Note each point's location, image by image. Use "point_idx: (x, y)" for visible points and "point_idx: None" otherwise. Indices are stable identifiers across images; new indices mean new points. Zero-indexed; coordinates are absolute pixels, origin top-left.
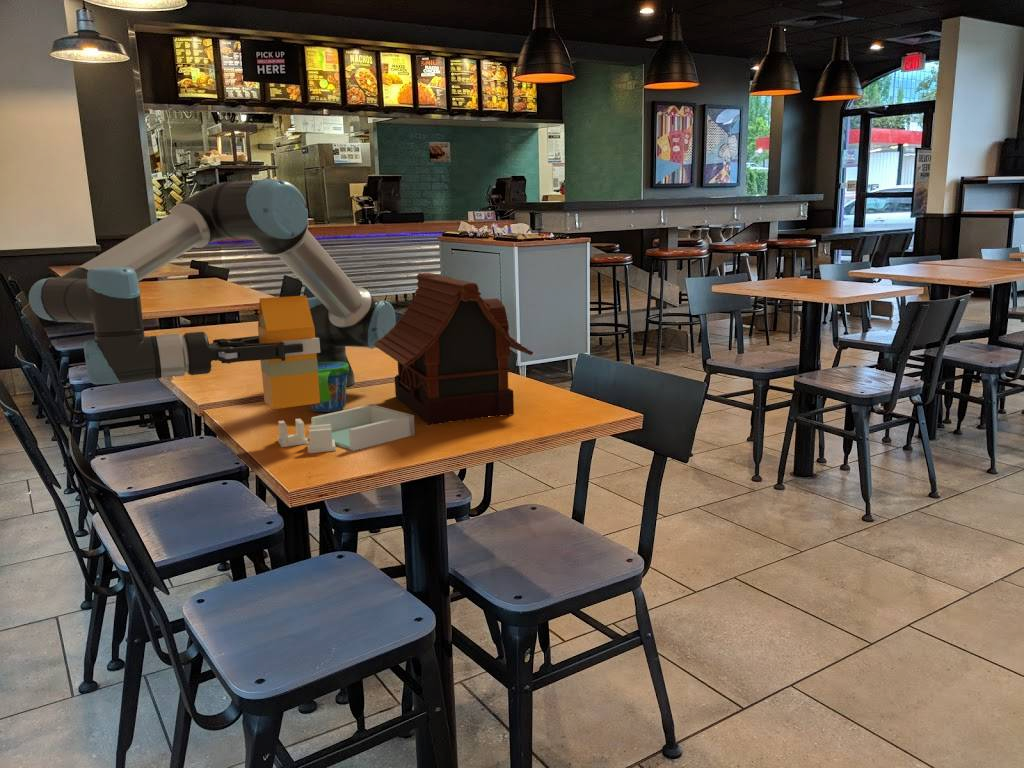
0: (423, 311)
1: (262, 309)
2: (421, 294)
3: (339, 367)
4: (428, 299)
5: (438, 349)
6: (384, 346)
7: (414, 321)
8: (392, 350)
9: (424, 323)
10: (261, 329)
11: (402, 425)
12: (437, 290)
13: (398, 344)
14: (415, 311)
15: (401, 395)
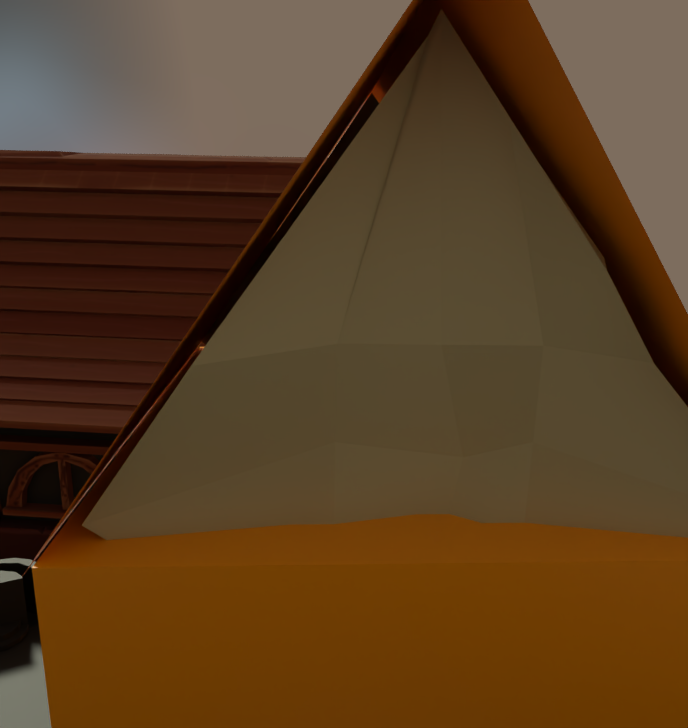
0: (141, 260)
1: (607, 167)
2: (45, 210)
3: None
4: (124, 222)
5: None
6: (5, 407)
7: (99, 298)
8: (120, 410)
9: (205, 296)
10: (381, 591)
11: None
12: (195, 189)
13: (117, 384)
14: (47, 267)
15: (31, 553)
